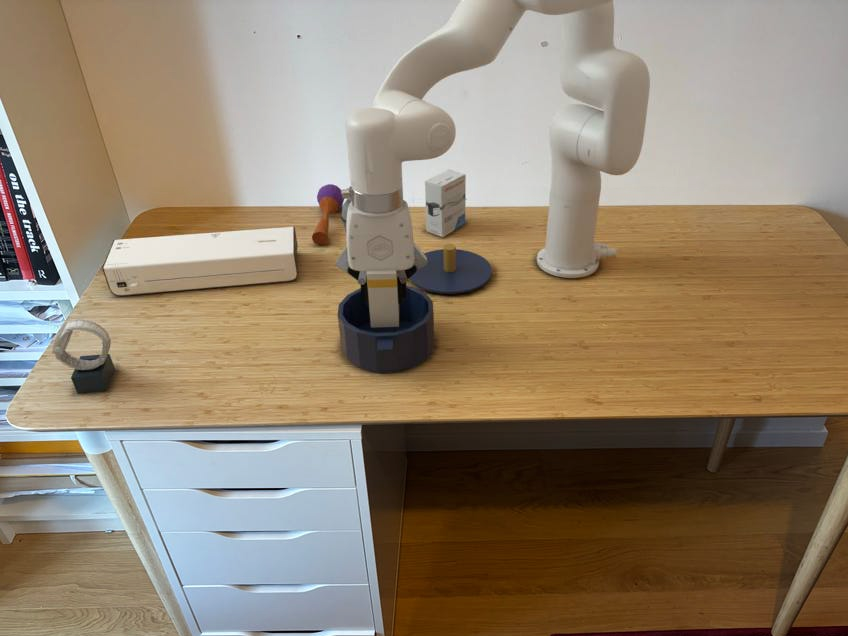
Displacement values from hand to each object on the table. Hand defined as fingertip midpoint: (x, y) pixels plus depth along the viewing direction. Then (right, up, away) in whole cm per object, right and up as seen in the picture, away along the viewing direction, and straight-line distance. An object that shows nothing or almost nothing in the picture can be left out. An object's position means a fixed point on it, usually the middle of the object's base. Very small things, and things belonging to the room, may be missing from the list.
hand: (384, 299), depth 117 cm
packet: (0, -2, +2) cm, 3 cm away
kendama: (-18, +20, +41) cm, 49 cm away
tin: (0, -7, +6) cm, 9 cm away
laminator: (-37, +7, +23) cm, 44 cm away
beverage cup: (-7, +8, +26) cm, 28 cm away
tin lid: (+10, +8, +24) cm, 27 cm away
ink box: (+8, +19, +41) cm, 46 cm away
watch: (-45, -13, -4) cm, 47 cm away
